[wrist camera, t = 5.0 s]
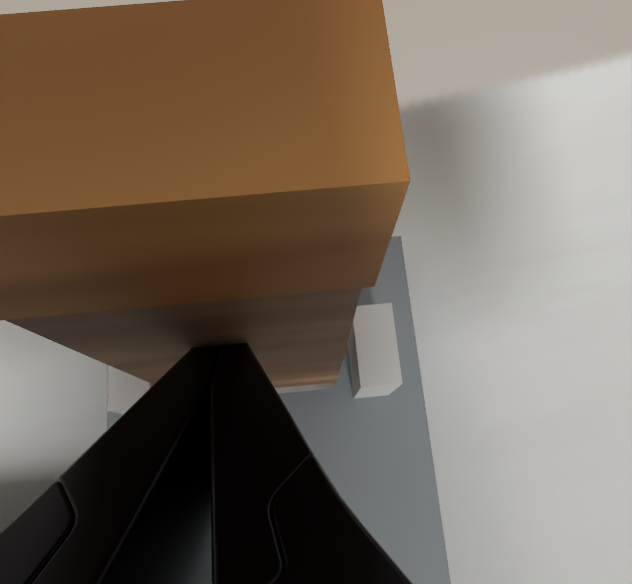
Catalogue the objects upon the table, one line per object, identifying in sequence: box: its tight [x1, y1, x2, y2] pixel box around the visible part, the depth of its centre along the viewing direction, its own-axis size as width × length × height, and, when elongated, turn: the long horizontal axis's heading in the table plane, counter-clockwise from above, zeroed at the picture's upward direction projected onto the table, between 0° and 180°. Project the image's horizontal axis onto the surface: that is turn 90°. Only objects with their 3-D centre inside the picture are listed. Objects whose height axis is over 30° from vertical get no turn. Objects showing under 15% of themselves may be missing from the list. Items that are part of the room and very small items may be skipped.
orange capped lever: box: [0, 0, 410, 394], centre depth 10 cm, size 2×4×12 cm, turn 95°
